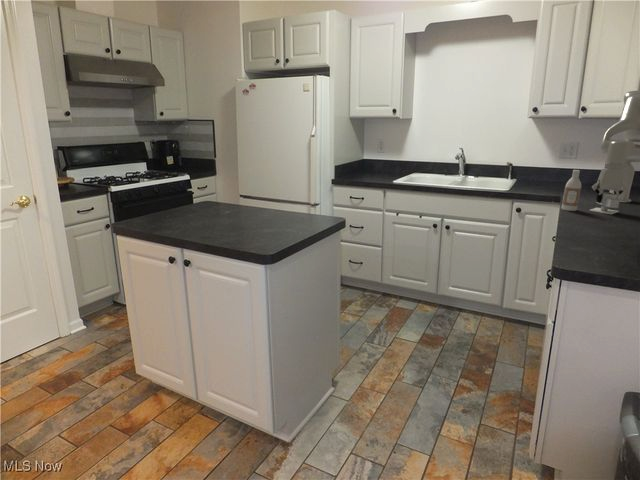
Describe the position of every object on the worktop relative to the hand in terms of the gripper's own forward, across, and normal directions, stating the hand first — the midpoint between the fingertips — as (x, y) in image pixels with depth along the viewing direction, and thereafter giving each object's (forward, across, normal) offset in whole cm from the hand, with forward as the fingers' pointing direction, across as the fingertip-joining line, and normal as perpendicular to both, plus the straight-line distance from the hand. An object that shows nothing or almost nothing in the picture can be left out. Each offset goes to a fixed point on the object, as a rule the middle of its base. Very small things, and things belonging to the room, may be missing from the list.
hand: (605, 202), depth 215 cm
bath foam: (+5, +17, +1) cm, 18 cm away
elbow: (+1, 0, +3) cm, 3 cm away
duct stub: (+4, 0, 0) cm, 4 cm away
